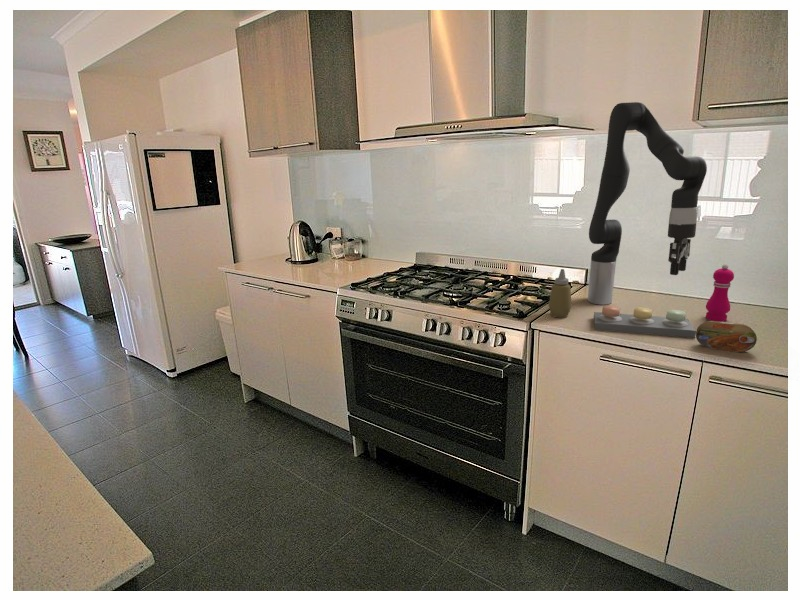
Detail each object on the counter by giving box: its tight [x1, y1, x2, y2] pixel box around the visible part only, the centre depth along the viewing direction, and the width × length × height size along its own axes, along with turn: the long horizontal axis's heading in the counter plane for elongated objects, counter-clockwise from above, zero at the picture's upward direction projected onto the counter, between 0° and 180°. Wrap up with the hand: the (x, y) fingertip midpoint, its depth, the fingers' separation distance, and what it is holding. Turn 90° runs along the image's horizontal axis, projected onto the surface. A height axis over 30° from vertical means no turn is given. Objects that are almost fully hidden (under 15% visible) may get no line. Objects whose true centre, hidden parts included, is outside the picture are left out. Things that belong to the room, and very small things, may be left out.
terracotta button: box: [601, 304, 621, 317], centre depth 161 cm, size 6×6×2 cm
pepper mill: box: [705, 264, 735, 322], centre depth 162 cm, size 7×7×20 cm
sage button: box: [665, 309, 687, 322], centre depth 154 cm, size 6×6×2 cm
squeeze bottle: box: [548, 268, 572, 319], centre depth 171 cm, size 8×8×18 cm
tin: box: [695, 320, 758, 353], centre depth 139 cm, size 15×3×8 cm, turn 59°
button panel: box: [593, 311, 697, 339], centre depth 159 cm, size 12×30×3 cm, turn 70°
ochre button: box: [632, 306, 653, 319], centre depth 158 cm, size 6×6×2 cm
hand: (677, 272), depth 149 cm, fingers open, 8 cm apart
